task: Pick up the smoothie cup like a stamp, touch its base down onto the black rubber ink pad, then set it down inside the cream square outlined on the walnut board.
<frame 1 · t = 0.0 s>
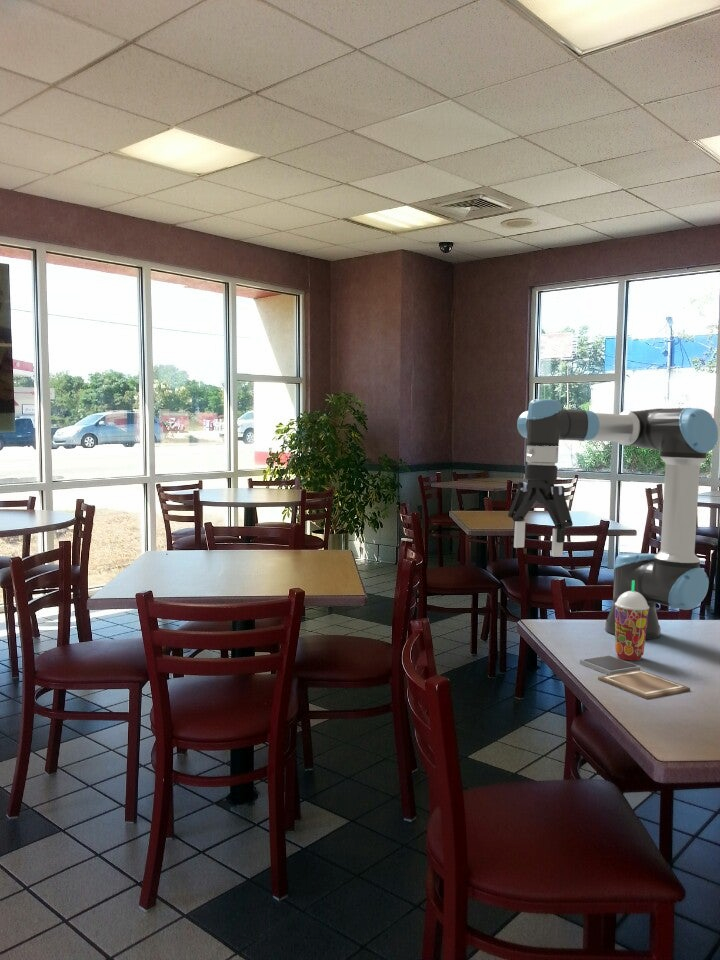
hand: (537, 551, 186), 28 cm above the table, fingers open, 13 cm apart
ink pad: (609, 667, 189), on the table
board: (643, 684, 176), on the table
smoothie: (628, 658, 197), on the table
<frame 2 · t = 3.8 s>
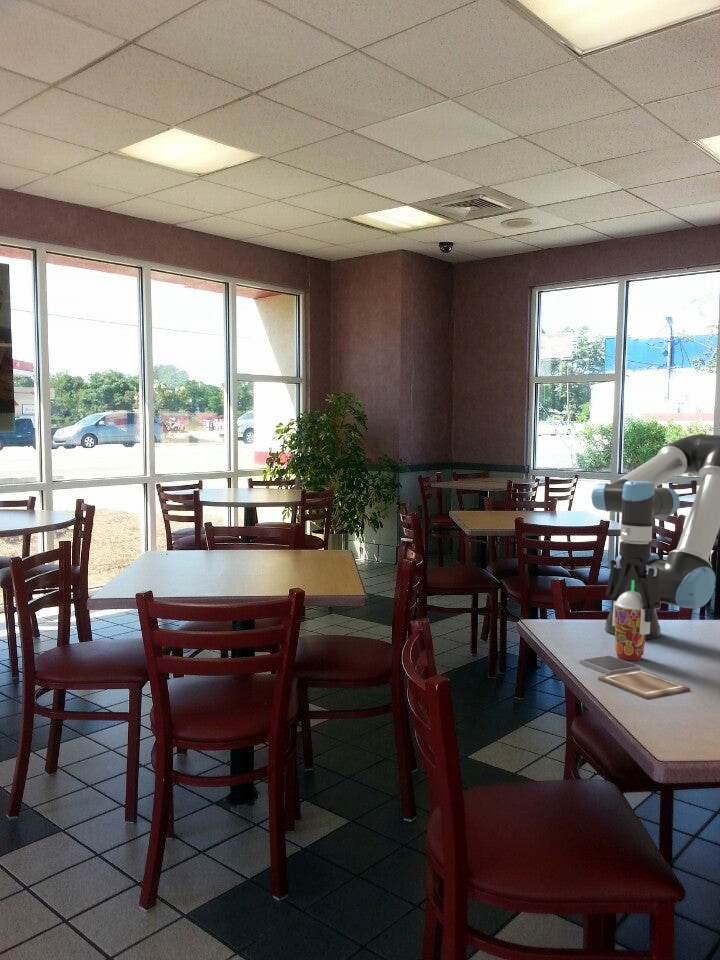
hand: (630, 629, 197), 7 cm above the table, fingers closed on smoothie, 8 cm apart
smoothie: (628, 658, 197), on the table, touching gripper
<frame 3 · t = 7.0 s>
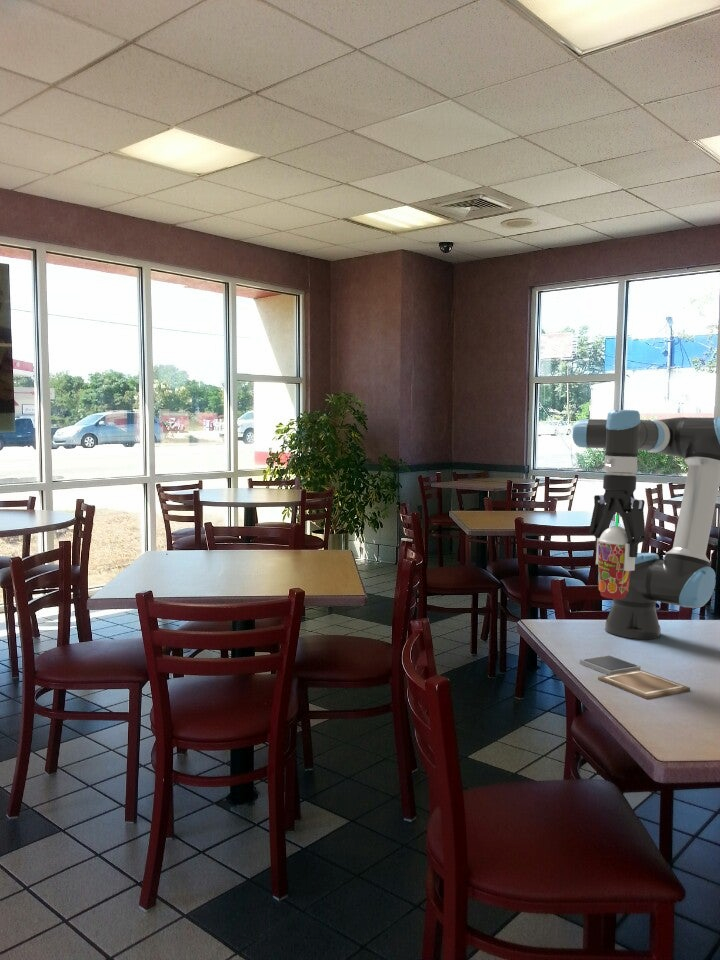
hand: (614, 567, 187), 25 cm above the table, fingers closed on smoothie, 8 cm apart
smoothie: (612, 597, 187), point 17 cm above the table, touching gripper
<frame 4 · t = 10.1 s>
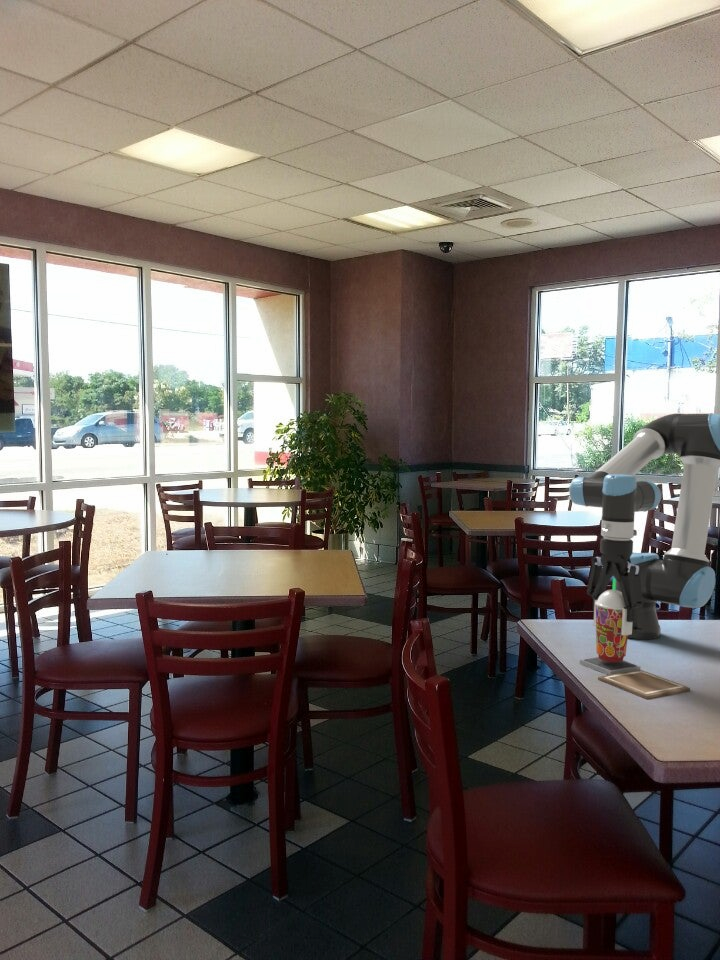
hand: (612, 629, 188), 9 cm above the table, fingers closed on smoothie, 8 cm apart
smoothie: (610, 659, 189), point 2 cm above the table, touching gripper
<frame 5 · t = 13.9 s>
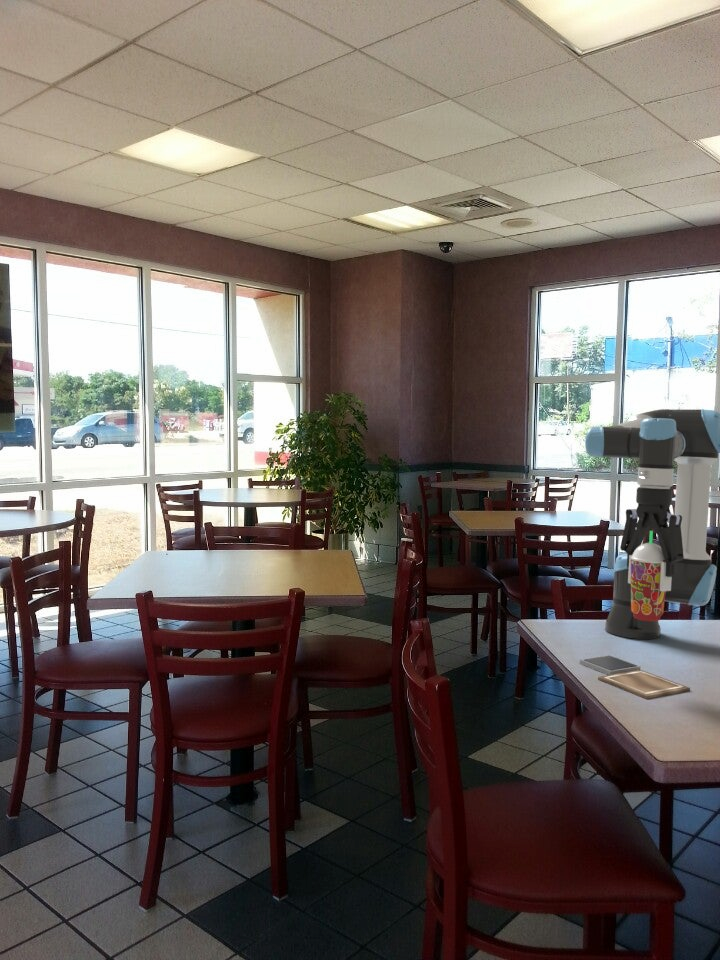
hand: (648, 586, 174), 23 cm above the table, fingers closed on smoothie, 8 cm apart
smoothie: (646, 619, 175), point 15 cm above the table, touching gripper
when the fingers open (9 cm above the table, at t = 16.7 s): smoothie drops 1 cm, resting on board.
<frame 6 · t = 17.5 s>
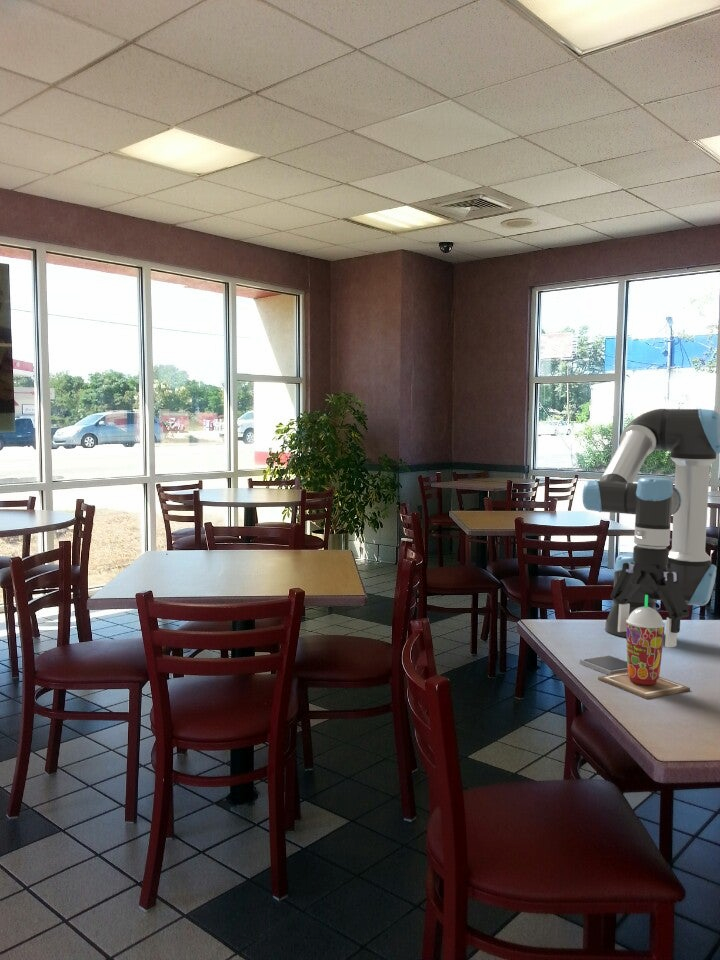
hand: (645, 638, 175), 11 cm above the table, fingers open, 13 cm apart
smoothie: (642, 682, 176), resting on board
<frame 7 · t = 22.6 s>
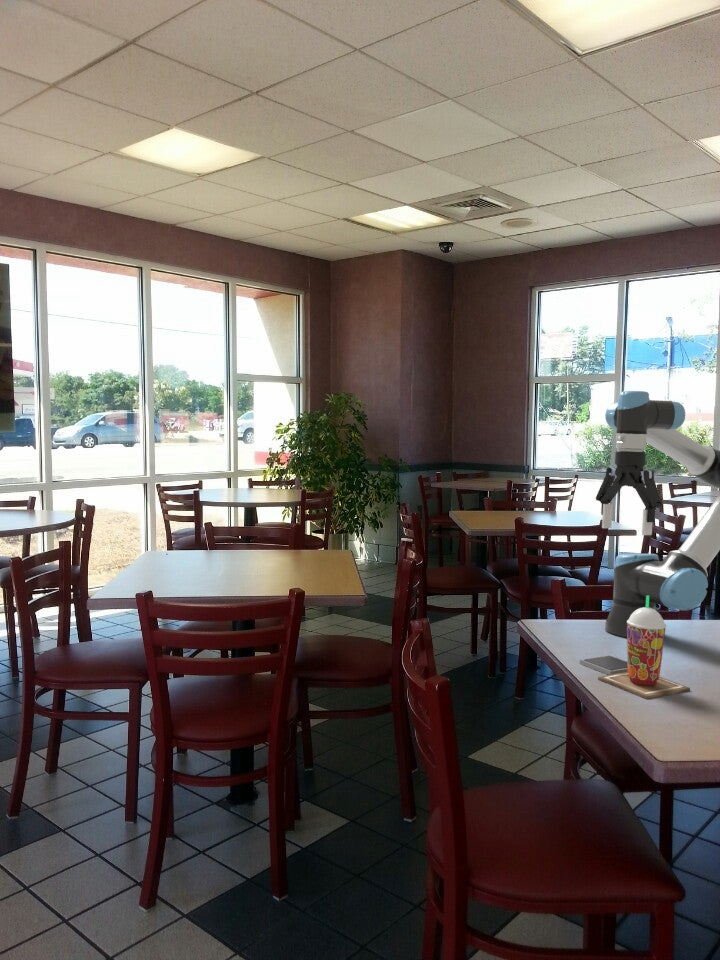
hand: (626, 531, 202), 32 cm above the table, fingers open, 13 cm apart
nothing on the table moved.
at the end: smoothie inside the target area on the board (0.1 cm from its centre), point 0.4 cm above the board's base; smoothie tilted 0°; the gripper is holding nothing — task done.
